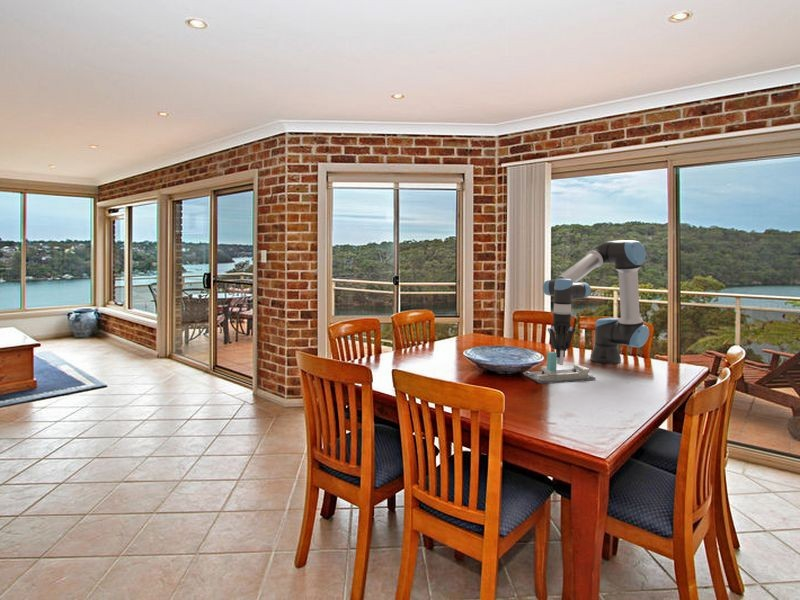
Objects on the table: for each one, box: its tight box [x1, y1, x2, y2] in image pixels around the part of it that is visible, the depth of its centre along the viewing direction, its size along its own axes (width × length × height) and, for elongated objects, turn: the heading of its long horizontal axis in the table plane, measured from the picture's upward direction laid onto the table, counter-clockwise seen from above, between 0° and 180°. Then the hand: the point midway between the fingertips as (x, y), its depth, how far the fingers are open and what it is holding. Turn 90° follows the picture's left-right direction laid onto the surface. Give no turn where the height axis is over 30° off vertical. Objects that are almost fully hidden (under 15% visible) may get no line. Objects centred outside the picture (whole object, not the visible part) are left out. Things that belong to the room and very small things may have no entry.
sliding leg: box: [541, 351, 558, 375], centre depth 217 cm, size 3×10×12 cm, turn 13°
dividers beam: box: [537, 363, 591, 380], centre depth 218 cm, size 25×10×4 cm, turn 103°
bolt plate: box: [522, 367, 596, 385], centre depth 221 cm, size 28×16×2 cm, turn 103°
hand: (559, 364), depth 215 cm, fingers closed
